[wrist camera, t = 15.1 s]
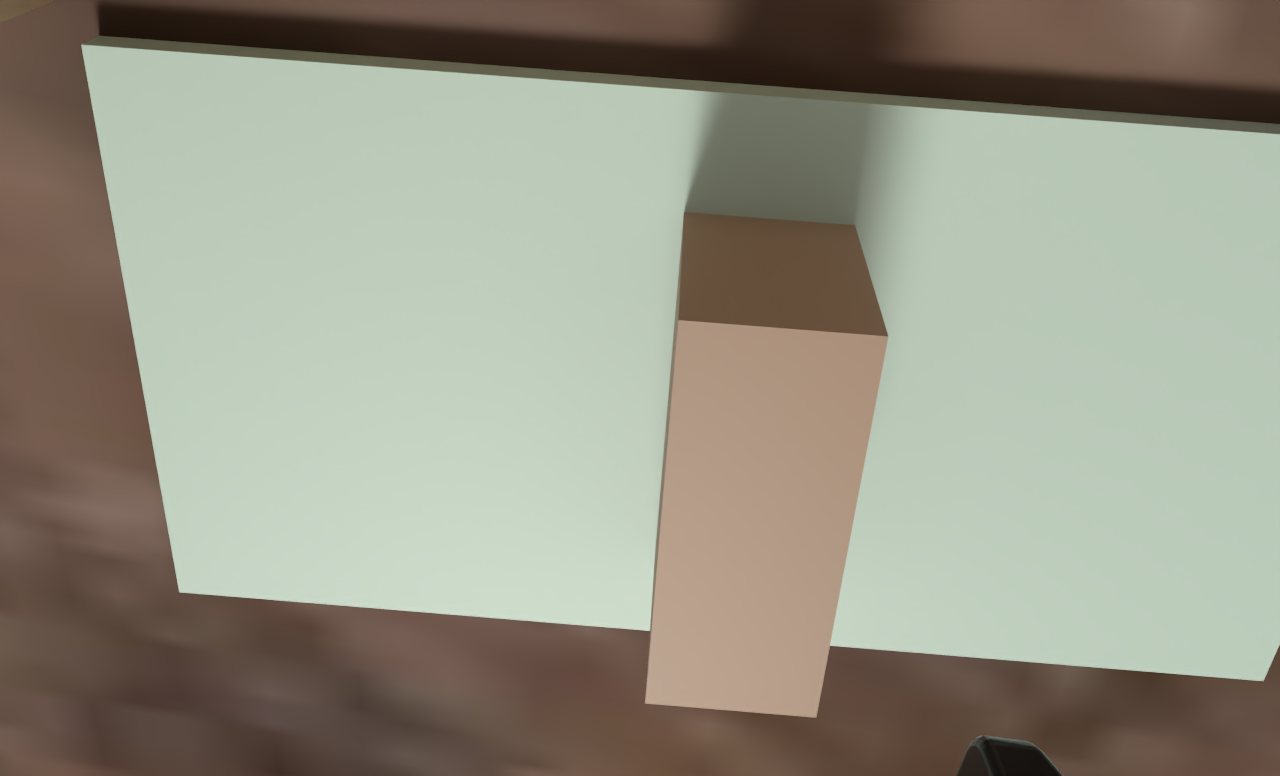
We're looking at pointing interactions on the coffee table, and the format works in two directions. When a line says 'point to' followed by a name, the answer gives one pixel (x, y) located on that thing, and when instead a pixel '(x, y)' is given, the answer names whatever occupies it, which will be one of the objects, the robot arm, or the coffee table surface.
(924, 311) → the lid
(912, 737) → the coffee table surface
